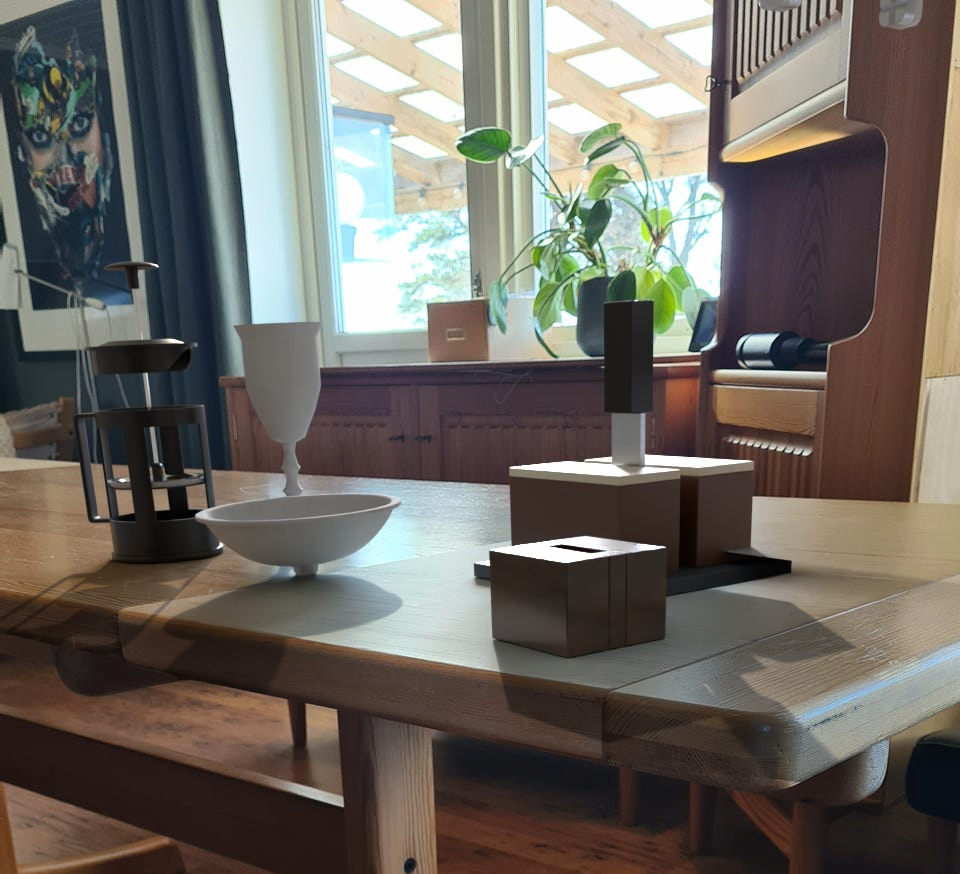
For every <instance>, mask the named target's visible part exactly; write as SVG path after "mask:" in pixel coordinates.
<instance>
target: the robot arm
mask: <svg viewBox="0 0 960 874" xmlns="http://www.w3.org/2000/svg"><path fill="white" fill-rule="evenodd" d="M802 3H803V0H758V5H759V8H760V9H762V10H763V11H765V10H766V11H770V12H777V13H784V12H788V11H790V10H794V9H798V8H799V7H800V6H801V5H802ZM923 6H924V0H879V8H880V12H879V14H878V22H879V25H880V26H881V27H884V28H888V29H894V30H904V29H908V28H913V27H915V26H917V25H918V24H919V23H920V22H921V19H922V17H923Z"/></svg>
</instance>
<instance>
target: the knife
mask: <svg viewBox="0 0 960 874" xmlns="http://www.w3.org/2000/svg"><path fill="white" fill-rule="evenodd" d="M654 306H655V300H654V299H642V300H640V299H636V300H635V299H634V300H631V299H630V300H619V301H607V302H603V410H604V411H603V413H604V414H611V457H612V465H622V466H636V467H645V455H646V414H647V413H653V411H654V319H655V318H654V313H655V311H654V310H655V307H654Z"/></svg>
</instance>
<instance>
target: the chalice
mask: <svg viewBox="0 0 960 874" xmlns="http://www.w3.org/2000/svg"><path fill="white" fill-rule="evenodd" d="M322 325H323V321H295V322H294V321H293V322H292V321H291V322H290V321H289V322H268V323H267V322H264V323H249V324H247V323H246V324H235V325H233V326H232V327H233V329H234V331H235V332H236V333H237V336H238V337H239V339H240V342H241V343H240V345H241V353H242V362H243V363H242V364H243V373H244V382H245V390H246V392H247V395H248V398H249V400H250V402H251V404H252V406H253V408H254V412H255V413H256V415H257V417H258V419H259V420H260V422H261V423H262V426H263V428H264V429H265V431H266V433H267V434H268V436H269V438H270V439H271V440H273V441H275V442H277V443H280V444H281V447H282V451H283V463H282V465H281V467H280V469H281V470H282V471H283V473H284V476H285V479H286V481H285V487H283V489H282V493H284V495H285V497H288V496H301V495H302V493H303V491H304V489H303V488H302V487H301V485H300V483H299V480H298V477H299V471H300V470H301V465H300V464H299V463H298V459H297V456H296V446H297V443H298V442H299V441H301V440H303V439H304V438H306V437H307V434H308V431H309V428H310V425H311V422H312V420H313V417H314V415H315V411H316V410H317V405H318V400H319V397H320V392H321V386H322V380H321V369H320V357H319V356H320V355H319V345H318V344H319V343H318V336H319V332H320V330H321V327H322Z"/></svg>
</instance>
